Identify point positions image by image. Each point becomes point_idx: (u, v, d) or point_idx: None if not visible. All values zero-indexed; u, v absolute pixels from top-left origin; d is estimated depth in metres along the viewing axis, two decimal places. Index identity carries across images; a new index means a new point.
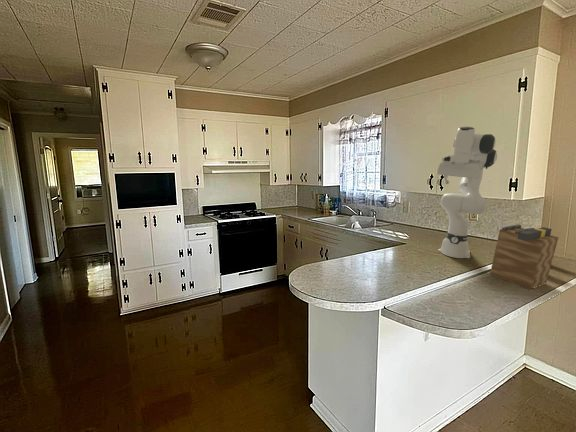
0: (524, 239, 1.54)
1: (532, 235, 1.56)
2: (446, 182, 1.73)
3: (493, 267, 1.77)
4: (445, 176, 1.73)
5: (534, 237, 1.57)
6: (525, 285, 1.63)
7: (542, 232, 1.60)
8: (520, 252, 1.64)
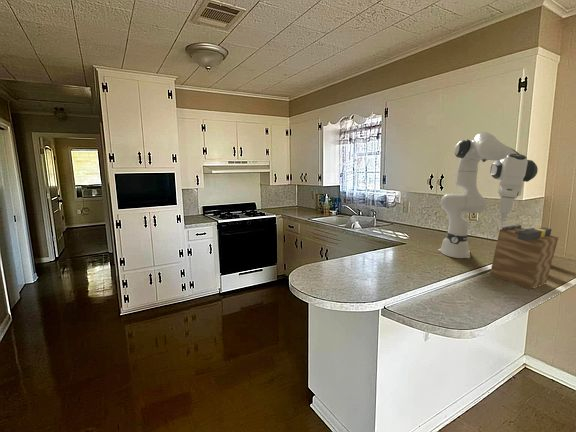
0: (524, 239, 1.54)
1: (532, 235, 1.56)
2: None
3: (493, 267, 1.77)
4: (506, 213, 1.45)
5: (534, 237, 1.57)
6: (525, 285, 1.63)
7: (542, 232, 1.60)
8: (520, 252, 1.64)
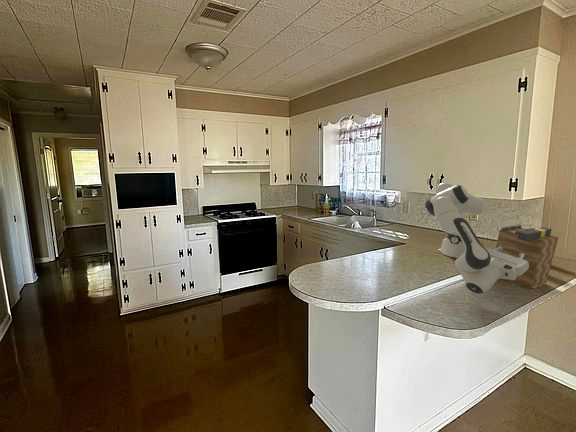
0: (524, 239, 1.54)
1: (532, 235, 1.56)
2: (521, 254, 1.48)
3: None
4: (520, 258, 1.47)
5: (534, 237, 1.57)
6: (525, 285, 1.63)
7: (542, 232, 1.60)
8: (520, 252, 1.64)
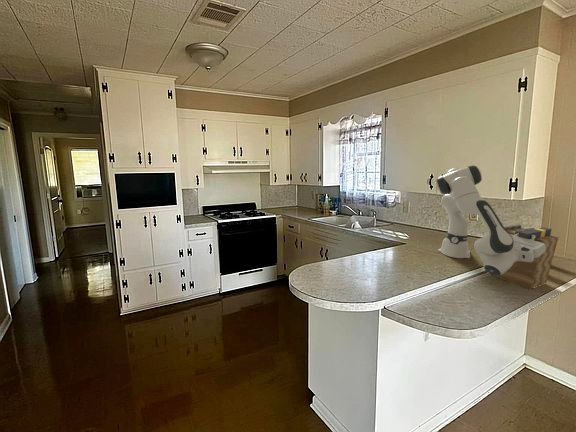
0: None
1: None
2: (532, 235, 1.54)
3: None
4: (531, 239, 1.53)
5: None
6: (525, 285, 1.63)
7: (542, 232, 1.60)
8: None
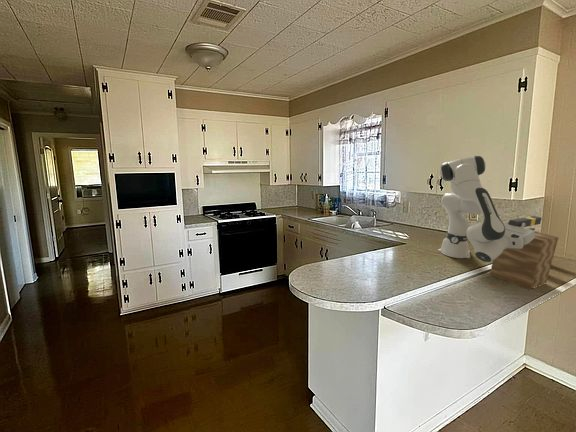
0: None
1: None
2: (522, 223, 1.58)
3: (493, 267, 1.77)
4: (521, 227, 1.56)
5: None
6: (525, 285, 1.63)
7: (532, 220, 1.64)
8: (520, 252, 1.64)
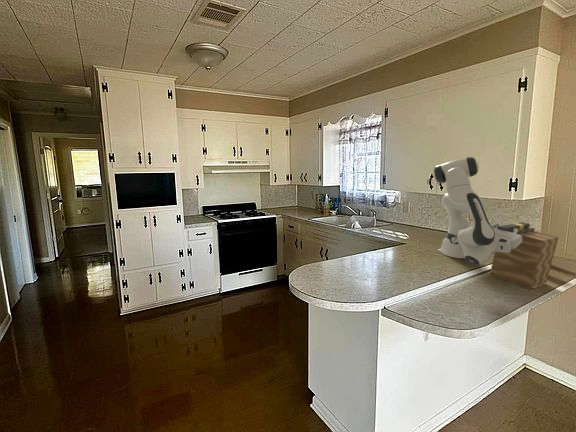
0: None
1: (510, 230, 1.64)
2: (515, 229, 1.61)
3: (493, 267, 1.77)
4: (514, 233, 1.59)
5: (512, 231, 1.66)
6: (525, 285, 1.63)
7: (520, 227, 1.68)
8: (520, 252, 1.64)
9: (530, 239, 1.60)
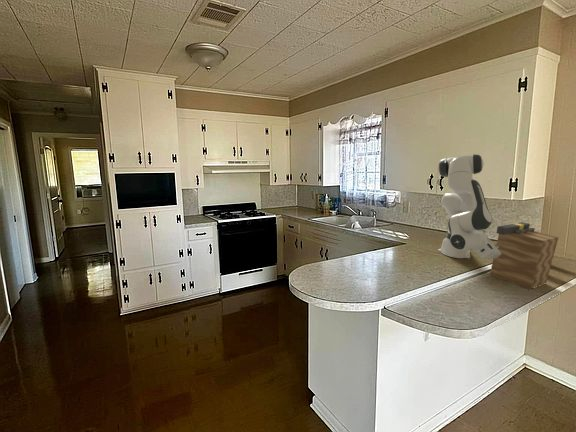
0: (502, 233, 1.62)
1: (510, 230, 1.64)
2: (497, 246, 1.60)
3: (493, 267, 1.77)
4: None
5: (512, 231, 1.66)
6: (525, 285, 1.63)
7: (520, 227, 1.68)
8: (520, 252, 1.64)
9: (530, 239, 1.60)
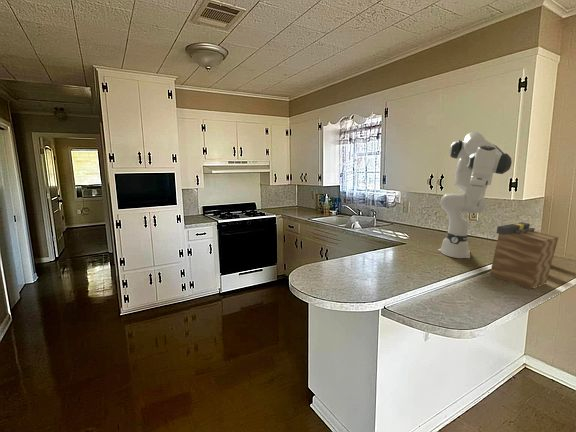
0: (502, 233, 1.62)
1: (510, 230, 1.64)
2: (476, 208, 1.55)
3: (493, 267, 1.77)
4: (477, 201, 1.53)
5: (512, 231, 1.66)
6: (525, 285, 1.63)
7: (520, 227, 1.68)
8: (520, 252, 1.64)
9: (530, 239, 1.60)
